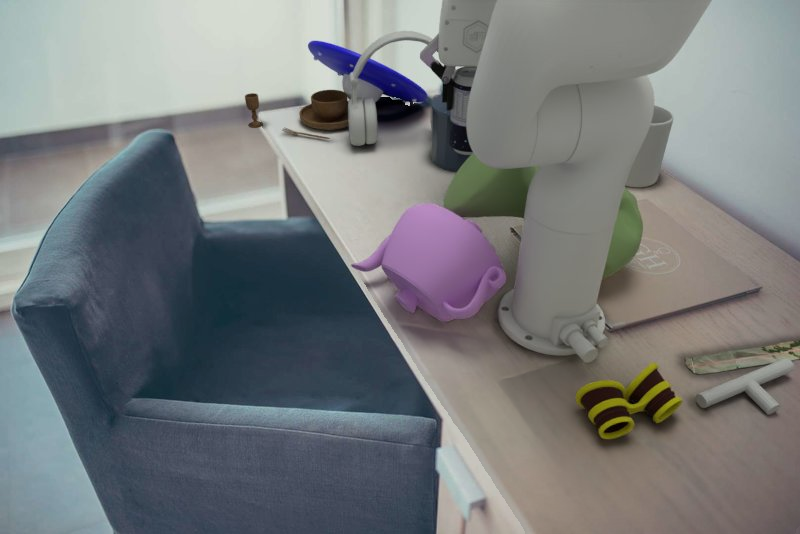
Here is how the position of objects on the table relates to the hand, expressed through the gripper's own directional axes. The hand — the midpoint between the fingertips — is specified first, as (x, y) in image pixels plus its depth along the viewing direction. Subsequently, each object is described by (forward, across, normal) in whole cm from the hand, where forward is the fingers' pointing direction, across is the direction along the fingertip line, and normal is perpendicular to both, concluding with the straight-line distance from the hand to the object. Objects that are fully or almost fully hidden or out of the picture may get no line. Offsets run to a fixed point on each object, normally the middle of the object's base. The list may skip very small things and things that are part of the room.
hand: (470, 105), depth 94 cm
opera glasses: (+15, +14, -46) cm, 50 cm away
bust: (-3, -1, -20) cm, 20 cm away
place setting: (+15, -28, +28) cm, 43 cm away
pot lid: (+5, 0, +12) cm, 13 cm away
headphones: (+15, -10, +18) cm, 25 cm away
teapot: (+6, -2, -24) cm, 25 cm away
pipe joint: (+13, +27, -41) cm, 51 cm away
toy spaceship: (+6, -17, +33) cm, 38 cm away
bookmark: (+15, +33, -36) cm, 51 cm away
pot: (+15, 0, +12) cm, 19 cm away
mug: (+15, +27, +6) cm, 31 cm away
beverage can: (+7, 0, 0) cm, 7 cm away
